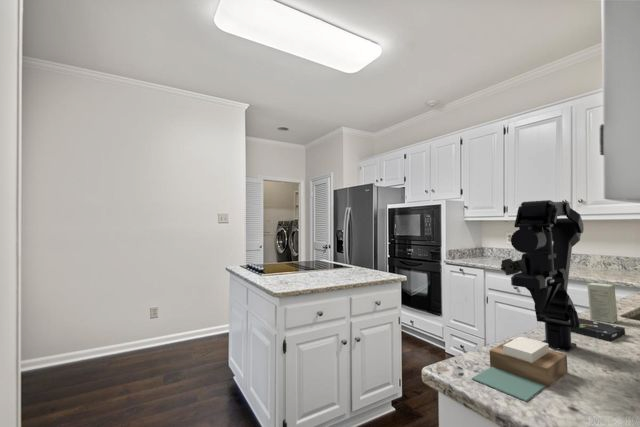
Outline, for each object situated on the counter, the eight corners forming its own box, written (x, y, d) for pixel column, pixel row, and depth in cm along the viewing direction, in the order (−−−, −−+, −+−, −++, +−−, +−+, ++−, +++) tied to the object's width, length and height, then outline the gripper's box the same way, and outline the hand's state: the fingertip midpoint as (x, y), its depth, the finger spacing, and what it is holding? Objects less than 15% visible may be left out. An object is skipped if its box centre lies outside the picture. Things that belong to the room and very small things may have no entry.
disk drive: (625, 337, 92) (567, 322, 105) (625, 327, 92) (567, 314, 106) (610, 344, 87) (551, 328, 101) (610, 334, 88) (551, 319, 101)
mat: (492, 367, 75) (492, 366, 75) (545, 386, 66) (545, 385, 66) (471, 379, 70) (471, 377, 70) (526, 401, 61) (526, 400, 61)
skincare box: (618, 321, 104) (616, 284, 104) (613, 323, 102) (611, 286, 102) (593, 316, 110) (591, 281, 110) (588, 318, 107) (586, 283, 108)
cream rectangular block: (521, 344, 78) (520, 336, 78) (548, 352, 73) (548, 343, 73) (503, 353, 73) (503, 345, 73) (532, 362, 68) (531, 353, 68)
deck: (511, 354, 81) (511, 339, 81) (567, 372, 71) (566, 354, 72) (490, 366, 75) (489, 350, 75) (548, 387, 65) (547, 368, 65)
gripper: (521, 245, 91) (523, 299, 91) (488, 250, 81) (491, 310, 80) (567, 247, 82) (570, 306, 82) (537, 253, 72) (540, 321, 71)
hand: (542, 310), depth 79 cm, fingers closed
